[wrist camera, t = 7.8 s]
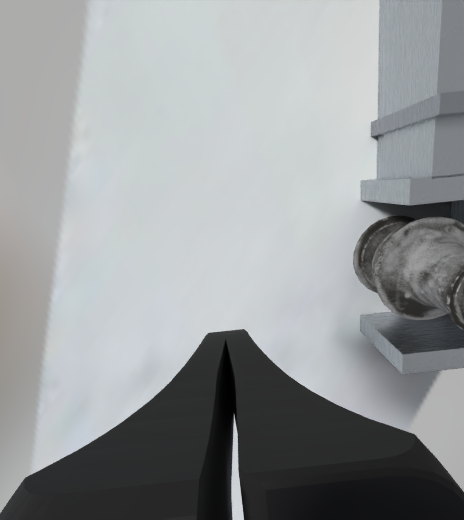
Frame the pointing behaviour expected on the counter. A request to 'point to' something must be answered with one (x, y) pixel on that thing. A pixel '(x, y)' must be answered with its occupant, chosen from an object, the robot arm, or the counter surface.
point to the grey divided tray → (419, 155)
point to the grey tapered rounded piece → (415, 266)
